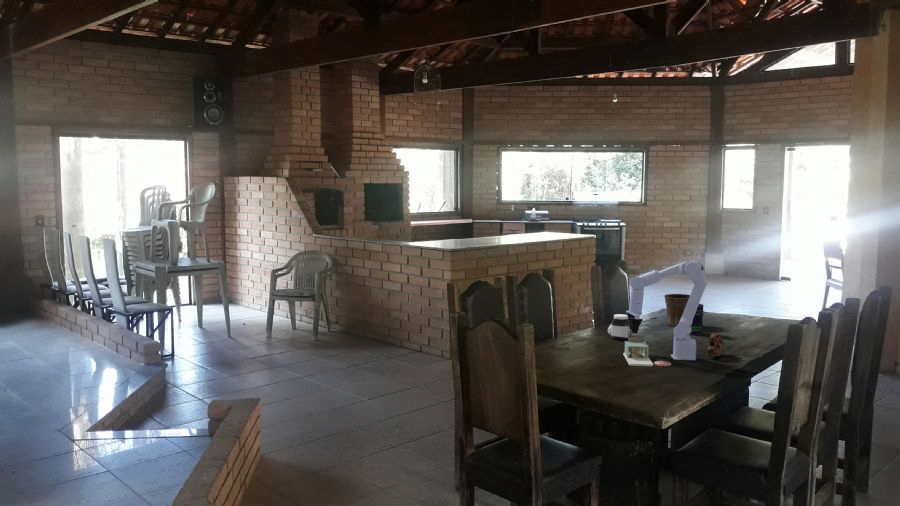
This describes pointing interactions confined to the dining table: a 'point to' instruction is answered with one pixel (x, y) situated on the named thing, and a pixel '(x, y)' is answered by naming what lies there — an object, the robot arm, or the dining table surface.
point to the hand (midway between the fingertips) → (633, 331)
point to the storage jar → (697, 320)
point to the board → (638, 361)
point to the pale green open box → (636, 345)
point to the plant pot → (675, 307)
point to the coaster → (662, 363)
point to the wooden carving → (715, 345)
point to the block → (636, 352)
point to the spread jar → (619, 327)
